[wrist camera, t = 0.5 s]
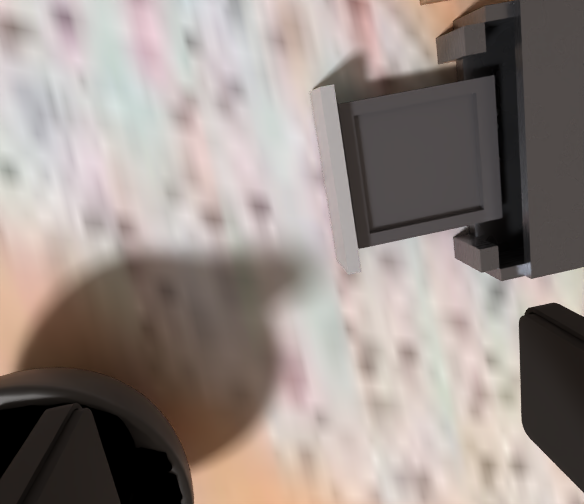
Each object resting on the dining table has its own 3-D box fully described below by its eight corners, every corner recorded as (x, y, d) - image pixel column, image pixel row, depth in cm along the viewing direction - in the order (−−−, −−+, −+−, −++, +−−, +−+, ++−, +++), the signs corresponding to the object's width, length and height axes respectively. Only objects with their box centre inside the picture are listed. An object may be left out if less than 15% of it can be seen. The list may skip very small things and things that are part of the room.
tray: (309, 91, 35) (319, 86, 31) (477, 61, 36) (506, 52, 33) (336, 260, 39) (348, 274, 35) (488, 227, 40) (515, 238, 36)
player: (434, 24, 36) (470, 6, 30) (614, -8, 37) (677, -30, 32) (456, 268, 41) (489, 288, 36) (611, 233, 42) (665, 248, 37)
